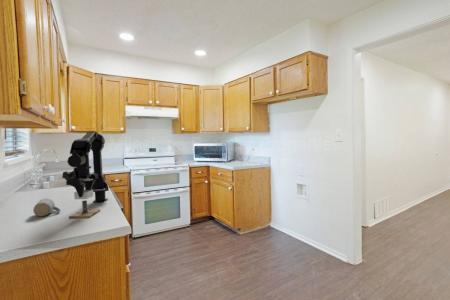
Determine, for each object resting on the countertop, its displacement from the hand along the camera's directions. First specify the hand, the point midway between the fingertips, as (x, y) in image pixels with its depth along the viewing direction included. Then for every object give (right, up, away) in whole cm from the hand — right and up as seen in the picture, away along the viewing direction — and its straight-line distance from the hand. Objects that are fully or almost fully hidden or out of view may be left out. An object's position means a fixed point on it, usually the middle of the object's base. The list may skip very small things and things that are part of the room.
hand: (84, 195), depth 118 cm
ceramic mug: (-21, -10, +3) cm, 23 cm away
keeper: (0, -10, 0) cm, 10 cm away
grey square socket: (0, -1, 0) cm, 1 cm away
